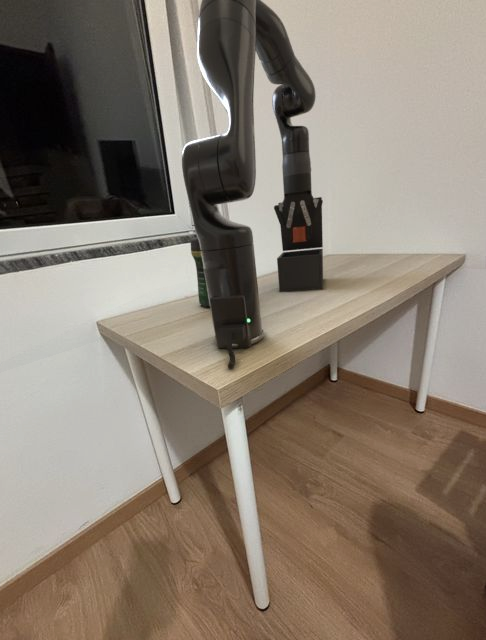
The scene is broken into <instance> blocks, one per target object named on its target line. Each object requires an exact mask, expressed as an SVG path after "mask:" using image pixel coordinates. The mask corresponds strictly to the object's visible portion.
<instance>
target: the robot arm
mask: <svg viewBox="0 0 486 640" xmlns="http://www.w3.org/2000/svg"><path fill="white" fill-rule="evenodd" d="M289 37H290V36H289V34H288V31H287V29H286V26H285V25H284V23H283V21H282V20H281V18H280V16H279V15H278V14H277V13H276V12H275V11H274V10H273V9H272V8H271V7H270V6H269V5H267V4H266V3H265V2H264V1H263V0H201V2H200V7H199V12H198V20H197V61H198V65H199V69H200V71H201V73H202V76H203V78H204V79H205V81H206V83H207V84H208V86H209V87H210V89H211V90H212V92H213V93H214V95H215V96H216V97H217V99H218V100H219V101H220V103H221V104H222V106H223V108H224V110H225V112H226V114H227V115H228V120H229V121H228V123H229V126H228V130H227V132H226V133H223V134H218V135H214V136H209V137H205V138H200V139H196V140H192V141H189V142H188V143H186V144H185V145H184V147H183V150H182V152H181V153H182V155H181V169H182V176H183V181H184V186H185V191H186V196H187V199H188V202H189V203H188V204H189V208H190V212H191V218H192V223H193V228H194V232H195V235H196V237H198V240H199V244H200V249H201V255H202V261H203V267H204V273H205V279H206V285H207V291H208V297H209V303H210V306H209V309H210V313H211V314H210V315H211V321H212V326H213V331H214V341H215V344H216V347H217V348H218V349H227V353H228V356H229V362H228V363H227V368H228V369H233V367H234V366H235V364H236V356H235V353H234V350H233V349H238V348H240V349H241V348H244V349H245V348H246V349H247V348H250V347H251V346H252V345H255V344H257V343H259V342H260V341H262V340H263V339H264V329H263V325H262V314H261V305H260V295H259V286H258V275H257V267H256V266H257V265H256V254H255V246H254V235H253V230H252V228H251V226H248V225H246V224H243V223H238V222H236V221H232V220H230V219H228V218H226V217H225V216H223V214H222V213H221V211H220V209H219V205H222V204H230V203H236V202H241V201H245V200H248V199H250V198H251V196H253V194H254V191H255V187H256V179H257V164H256V163H257V161H256V136H255V134H256V133H255V115H254V113H255V112H254V111H255V110H254V109H255V108H254V95H255V94H254V93H255V92H254V91H255V69H256V68H255V67H256V55H257V57H258V60H259V62H260V64H261V66H262V69H263V72H264V73H265V76H266V78H267V79H268V81H269V83H271V84H273V85H277V87H276V88H275V89H274V91H273V94H272V99H271V102H272V103H271V105H272V110H273V114H274V116H275V119H276V123H277V126H278V130H279V134H280V140H281V151H282V153H281V154H282V164H281V165H282V166H281V168H282V169H281V170H282V184H283V200H282V202H283V203H281V202H280V203H281V204H279V205H278V204H276V205H274V206H273V209H274V213H275V215H276V217H277V220H278V223H279V225H281V226H283V227H286V228H287V238H288V240H290V242H293V240H292V221H293V217H294V215H297V214H304V217H305V220H306V223H307V226H306V236H307V240H309V238H311V236H312V229H311V226H312V224H314V223H316V222H317V221H318V218H319V214H320V211H321V207H322V208H323V203H324V201H323V198H322V199H320V200H319V199H314V198H315V197H314V196H313V192H312V190H313V189H312V162H311V161H312V160H311V156H310V132H309V129H308V127H306V126H305V125H293V123H292V120H291V119H292V118H294V117H298V116H301V115H304V114H307V113H309V112H310V111H311V110H313V108H314V106H315V102H316V97H317V96H316V95H317V93H316V88H315V84H314V82H313V80H312V78H311V77H310V75H309V73H308V72H307V71H306V69H305V68H304V67H303V65H302V64H301V62H300V60H298V58H297V56H296V55H295V51H294V49H293V46H292V43H291V40H290V38H289ZM313 202H314V206H315V207H316V212H315V216H314V219H312V220H311V219H310V216H309V213H308V209H309V208H310V206H311V204H312V203H313ZM283 206H284V207H285V208H286V209H287V211H288V212H289V215H288V221H287V222H285V221H284V218H283V216H282V213H281V212H282V211H283Z"/></svg>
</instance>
